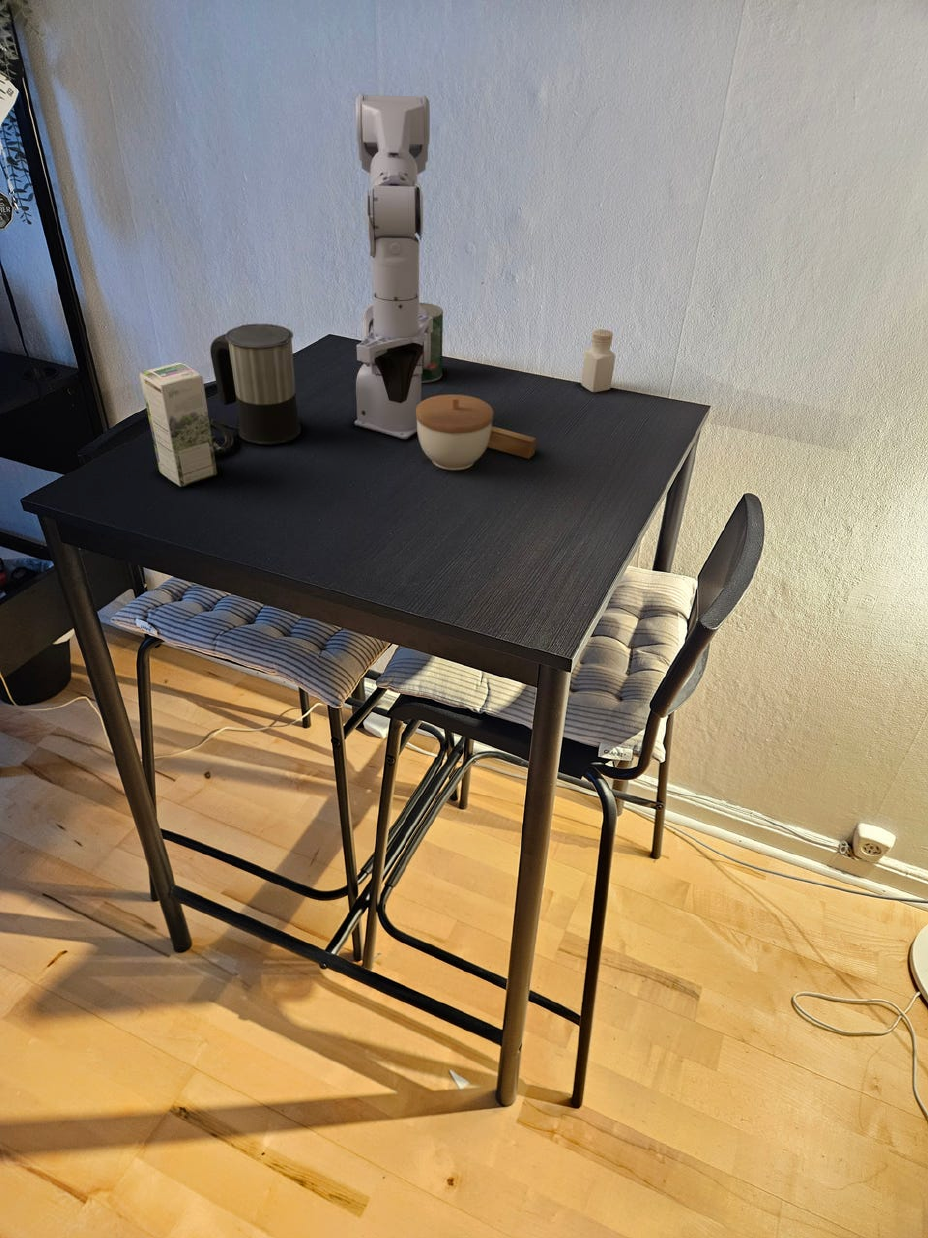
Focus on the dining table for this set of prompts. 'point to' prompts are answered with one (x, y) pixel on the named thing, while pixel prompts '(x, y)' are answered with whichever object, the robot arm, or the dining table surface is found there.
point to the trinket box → (454, 429)
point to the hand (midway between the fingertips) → (397, 400)
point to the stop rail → (512, 442)
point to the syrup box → (179, 423)
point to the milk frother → (256, 384)
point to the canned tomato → (434, 345)
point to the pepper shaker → (598, 362)
